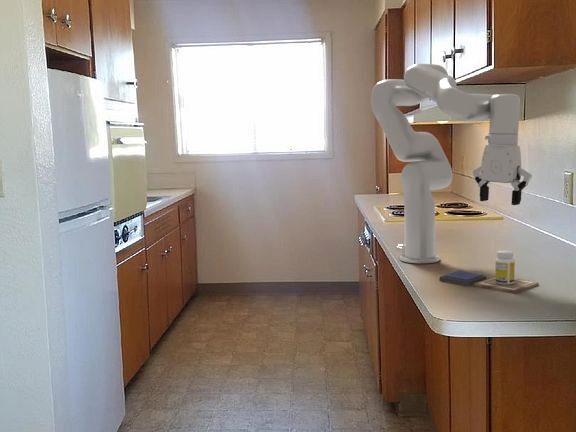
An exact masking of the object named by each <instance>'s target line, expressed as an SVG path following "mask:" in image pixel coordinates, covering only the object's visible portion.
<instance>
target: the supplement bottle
mask: <svg viewBox="0 0 576 432" xmlns="http://www.w3.org/2000/svg"><path fill="white" fill-rule="evenodd" d="M496 257H497V258H495V271H494V272H495V282H496V283H498V284H502V285H509V284H513V283H514V279H515V264H516V263H515V259H514V251H512V250H498V251H497V252H496Z"/></svg>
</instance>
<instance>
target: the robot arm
mask: <svg viewBox="0 0 576 432" xmlns="http://www.w3.org/2000/svg"><path fill="white" fill-rule="evenodd" d="M457 85H458V84H457V81H456V79H455V78H454V77H453V76H452V75H449V73H448V72H447V69H446V68H445V67H443V66H441V65H440V64H434V63H433V64H432V63H415V64H412V65H410V66H409V67H408V68H407V69H406V70H405V73H404V75H403V79H395V78H393V79H392V78H391V79H390V78H389V79H382V80H381V81H378V82H377V83H376V84H375V85H374V86H373V88H372V90H371V96H370V106H371V110H372V113H373V115H374V117H375V119H376V120H377V122H378V124H379V125H380V127H381V129H382V130H383V133H384V135H385V137H386V140H387V142H388V144H389V145H390V148H391V150H392V153H393V154H394V156H395V158H396V159H397V160H398V161H400V162H403V163H406V162H407V163H408V162H409V163H408V164H405V166H404V167H403V169H402V171H401V174H400V180H401V181H400V182H401V185H402V191H403V201H404V203H403V204H404V206H403V207H404V209H403V210H404V211H403V212H404V217H403V218H404V229H403V230H404V234H403V235H404V236H403V237H404V242H403V243H404V244H399V243H398V244H397V246H396V247H395V251H398V252H401V254H400V255H399V260H400V261H402V262H404V263H409V264H433V263H434V264H435V263H437V262H439V261H440V259H441V258H440V257H441V256H440V255H438V254H436V253H435V251H436V247H435V246H436V245H435V244H436V243H435V242H436V204H435V199H434V197H433V195H432V193H431V191H435V190H436V191H437V190H442V189H445V188H447V187H449V186H450V184H451V183H452V181H453V177H454V176H453V175H454V174H453V169H452V167H451V163H450V162H449V160H448V157H447V156H446V154H445V152H444V149H443V148H442V145H441V144H440V142H439V140H438V138H437V137H435V135H433V134H432V133H430V132H428V131H415V130H414V128H413V127H412V126H411V124H410V121H409V120H408V118H407V116H406V115H405V114H404V113H403V112H402V111H401V110H400V109H399V108H398V107H413V106H417V105H419V104H421V103H423V102H425V101H427V100H431V101H433V102H435V103H436V105H437V107H438V108H439V109H440V111H442V112H443V113H445V114H447V115H449V116H450V117H453V118H454V119H457V120H459V121H463V122H489V127H488V128H489V129H488V135H485V137H484V139H485V141H487V143H488V144H486V145H484V149H483V152H482V158H481V165H480V166H479V167H477V168H475V169H474V170H472V176H473V177H474V180H475V182H476V183H477V186H478V187H479V201H480V202H486V201H488V200H489V197H490V196H489V195H490V194H489V193H490V192H489V191H490V186H488V185H489V184H490V183H499V184H510V185H511V186H512V188H513V189H514V190H512V191H511V205H512V206H518V205H520V204H521V201H522V191H524V189H525V188H526V187H527V186H528V185H529V182H531V181H530V180H532V178H533V175H532V174H531V173H529V172H528V171H526V170H525V169H523V168H522V154H521V152H522V151H521V148H520V145H518V142H519V126H520V113H521V112H520V110H521V98H520V96H519V95H518V94H514V93H500V94H499V93H498V94H488V93H468V92H464V91H462V90H460V89H458V88H457ZM521 177H523V178H521ZM521 179H522V181H521Z"/></svg>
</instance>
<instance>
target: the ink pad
mask: <svg viewBox="0 0 576 432" xmlns="http://www.w3.org/2000/svg"><path fill="white" fill-rule="evenodd" d="M485 279H488V277H487V275H484V274H482V273H476V272H469V271H464V270H455V271H453V272H452V271H451V272H449V273H446V274H443V275H440V276H439V282H444V283H450V284H455V285H460V286H465V287H470V286H473V283H476V282H479V281H482V280H485Z"/></svg>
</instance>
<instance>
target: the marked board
mask: <svg viewBox="0 0 576 432" xmlns="http://www.w3.org/2000/svg"><path fill="white" fill-rule="evenodd" d="M539 284H540V283H539V282H535V281H530V280H525V279H519V278H514V283H513V284H509V285H502V284H498V283H496V282H495V276H492V277H489V278H488V277H487V279H485V280H482V281H479V282H476V283H473V285H472V286H473V287H480V288H483V289H489V290H495V291H498V292H500V291H501V292H505V293H509V294H515V295H516V294H518V293H521V292H523V291H527V290H529V289H531V288H534V287H537V286H539Z"/></svg>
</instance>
